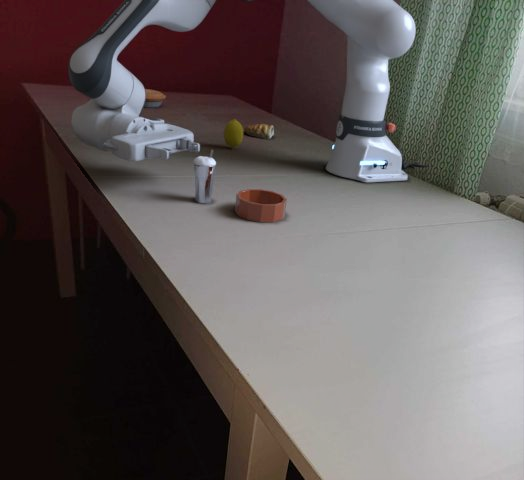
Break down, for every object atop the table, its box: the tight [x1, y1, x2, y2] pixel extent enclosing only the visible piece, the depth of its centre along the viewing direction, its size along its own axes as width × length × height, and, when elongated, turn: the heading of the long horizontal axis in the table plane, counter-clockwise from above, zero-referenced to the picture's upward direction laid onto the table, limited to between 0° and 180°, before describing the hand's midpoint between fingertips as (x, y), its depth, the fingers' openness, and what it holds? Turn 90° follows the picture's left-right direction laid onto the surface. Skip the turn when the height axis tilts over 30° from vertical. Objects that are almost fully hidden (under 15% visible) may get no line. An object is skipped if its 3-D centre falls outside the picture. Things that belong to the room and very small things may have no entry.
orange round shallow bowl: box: [234, 188, 288, 223], centre depth 110 cm, size 10×10×4 cm
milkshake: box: [193, 149, 217, 204], centre depth 112 cm, size 4×5×10 cm
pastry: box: [244, 123, 275, 140], centre depth 173 cm, size 9×7×4 cm
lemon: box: [223, 118, 244, 150], centre depth 154 cm, size 6×6×8 cm
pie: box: [143, 88, 167, 109], centre depth 197 cm, size 15×16×5 cm
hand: (184, 151), depth 112 cm, fingers open, 8 cm apart
